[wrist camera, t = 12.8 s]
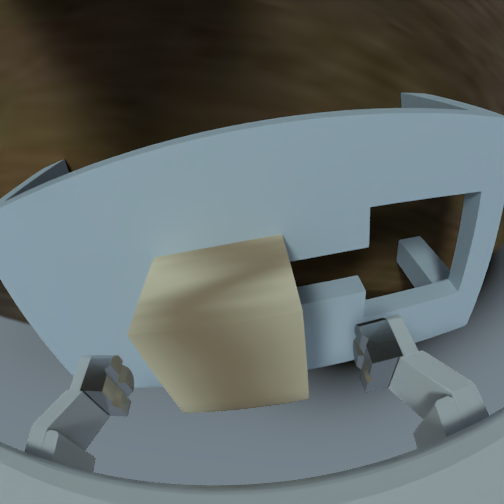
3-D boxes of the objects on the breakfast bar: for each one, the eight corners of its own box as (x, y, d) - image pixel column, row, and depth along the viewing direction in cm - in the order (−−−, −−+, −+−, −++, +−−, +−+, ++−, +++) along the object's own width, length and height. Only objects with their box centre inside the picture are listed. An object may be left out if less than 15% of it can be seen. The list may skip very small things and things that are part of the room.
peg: (269, 190, 15) (302, 311, 8) (282, 270, 17) (308, 399, 10) (172, 209, 15) (127, 335, 8) (198, 284, 18) (184, 413, 11)
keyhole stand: (425, 93, 15) (512, 118, 8) (416, 256, 22) (466, 324, 15) (43, 168, 16) (-29, 223, 10) (110, 309, 23) (82, 386, 17)
